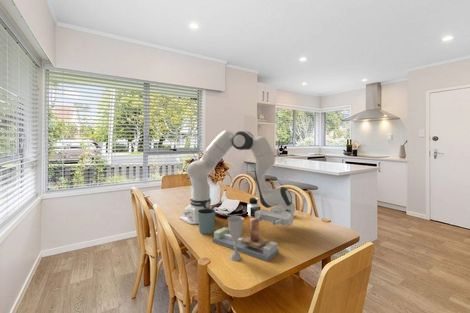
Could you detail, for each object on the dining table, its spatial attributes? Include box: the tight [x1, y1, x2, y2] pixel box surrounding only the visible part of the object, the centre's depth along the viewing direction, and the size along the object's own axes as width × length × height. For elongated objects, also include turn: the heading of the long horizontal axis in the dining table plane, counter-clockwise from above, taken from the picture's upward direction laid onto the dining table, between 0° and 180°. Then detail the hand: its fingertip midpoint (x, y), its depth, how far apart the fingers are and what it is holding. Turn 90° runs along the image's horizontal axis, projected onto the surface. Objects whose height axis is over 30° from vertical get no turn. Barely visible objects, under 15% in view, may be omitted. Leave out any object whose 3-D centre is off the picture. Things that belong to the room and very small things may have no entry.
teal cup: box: [197, 208, 216, 235], centre depth 134 cm, size 10×10×12 cm
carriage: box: [241, 217, 269, 249], centre depth 111 cm, size 10×8×12 cm
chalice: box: [226, 215, 245, 262], centre depth 104 cm, size 7×7×18 cm
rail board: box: [212, 226, 279, 263], centre depth 115 cm, size 32×10×5 cm, turn 53°
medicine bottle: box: [246, 197, 261, 218], centre depth 161 cm, size 7×7×12 cm
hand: (266, 221), depth 120 cm, fingers open, 8 cm apart
